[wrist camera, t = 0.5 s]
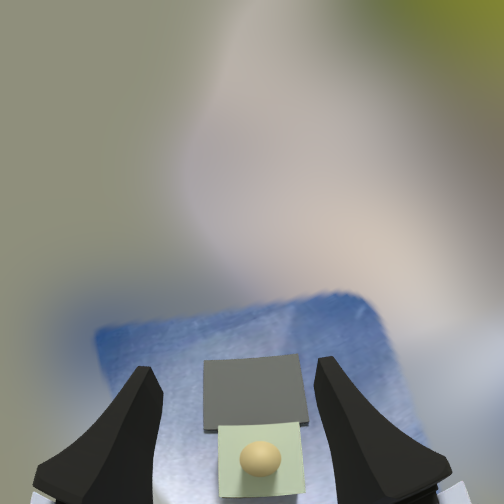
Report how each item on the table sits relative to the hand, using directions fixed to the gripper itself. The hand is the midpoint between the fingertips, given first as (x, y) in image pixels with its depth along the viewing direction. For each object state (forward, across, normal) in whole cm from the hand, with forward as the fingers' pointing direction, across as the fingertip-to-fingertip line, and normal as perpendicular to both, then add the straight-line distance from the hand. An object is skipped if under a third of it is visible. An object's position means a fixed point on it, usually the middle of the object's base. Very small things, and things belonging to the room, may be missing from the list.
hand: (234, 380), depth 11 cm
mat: (+10, 0, +16) cm, 19 cm away
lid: (+1, -1, +16) cm, 16 cm away
